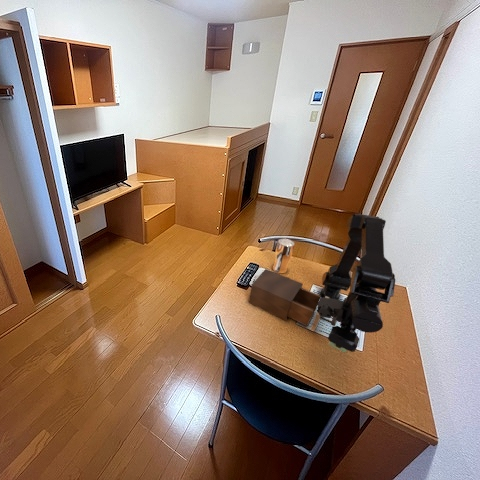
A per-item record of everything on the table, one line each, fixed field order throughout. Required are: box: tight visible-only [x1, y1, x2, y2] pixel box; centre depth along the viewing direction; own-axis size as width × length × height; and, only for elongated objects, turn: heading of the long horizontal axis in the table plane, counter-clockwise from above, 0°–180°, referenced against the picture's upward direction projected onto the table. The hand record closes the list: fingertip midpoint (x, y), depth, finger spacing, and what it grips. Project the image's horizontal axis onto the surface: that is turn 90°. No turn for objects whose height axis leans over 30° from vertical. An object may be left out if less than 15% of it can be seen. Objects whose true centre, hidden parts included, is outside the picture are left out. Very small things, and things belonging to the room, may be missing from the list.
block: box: [327, 341, 348, 354], centre depth 77 cm, size 4×4×4 cm
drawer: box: [287, 287, 338, 332], centre depth 94 cm, size 18×11×8 cm, turn 48°
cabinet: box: [248, 268, 304, 321], centre depth 102 cm, size 15×13×10 cm
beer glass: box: [272, 238, 296, 274], centre depth 118 cm, size 7×7×15 cm
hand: (339, 341), depth 78 cm, fingers closed on block, 4 cm apart
